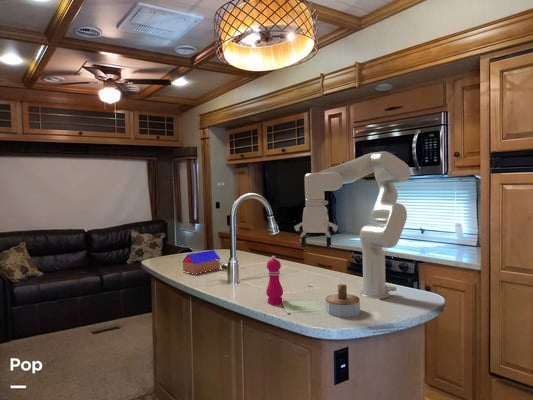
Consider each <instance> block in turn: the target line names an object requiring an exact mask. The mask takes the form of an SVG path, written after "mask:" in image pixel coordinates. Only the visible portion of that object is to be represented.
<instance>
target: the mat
mask: <svg viewBox="0 0 533 400" xmlns="http://www.w3.org/2000/svg"><path fill="white" fill-rule="evenodd" d="M281 304H282V306H283V308H284V310H285V312H286V314H287V315H292V313H305V312H322V311H324V310H323V309H322V307H321V306H320V305H319V304H318V303H317V301H315V300H302V301H301V300H300V301H282V303H281Z"/></svg>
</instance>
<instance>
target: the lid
mask: <svg viewBox="0 0 533 400" xmlns="http://www.w3.org/2000/svg"><path fill="white" fill-rule="evenodd" d="M347 289H348V287H347V284H343V283H342V284H341V283H339V284H337V293H335V294H330V295H327V296H326V297H325V302H326V301H327V302H328V303H331V304H336V305H352V304H356V303H358V302H359V301H360V297H358V296H357V295H354V294H349V293H348V292H347Z"/></svg>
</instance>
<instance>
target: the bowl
mask: <svg viewBox="0 0 533 400" xmlns="http://www.w3.org/2000/svg"><path fill="white" fill-rule="evenodd" d="M325 312H326V313H327V314H328V315H329V316H333V317H338V318H349V317H350V318H351V317H356V316H358V315H359V314H361V301H360V300H359V302H358V303H356V304H352V305H336V304H331V303H328V302H327V301H326V300H325Z"/></svg>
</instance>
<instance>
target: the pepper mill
mask: <svg viewBox="0 0 533 400" xmlns="http://www.w3.org/2000/svg"><path fill="white" fill-rule="evenodd" d="M276 258H277V257H276V256H275V255H272V256H271V259H270V260H268V261H267V263H266V269H267V271H268V274H267V275H268V278H269V281H268V284H267V286H266V290H265V292H266V296H267V297H268V298H267V304H269V305H279V304H282V302H283V297H282V296H283V295H284V289H283V286H282V285H281V282H280V274H281V271H280V269H281V267H282V265H281V264H282V263H281V262H280V261H279V260H278V259H276Z"/></svg>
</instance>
